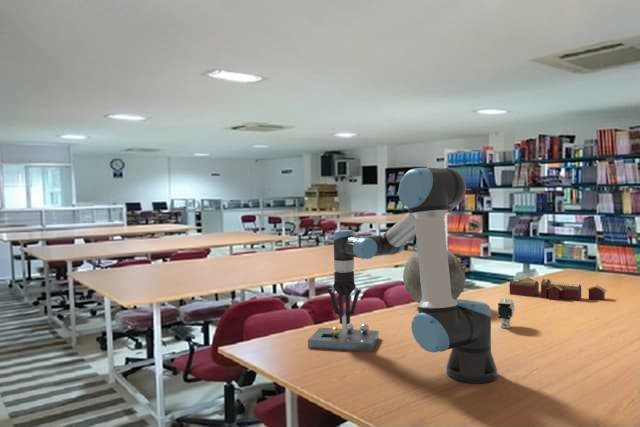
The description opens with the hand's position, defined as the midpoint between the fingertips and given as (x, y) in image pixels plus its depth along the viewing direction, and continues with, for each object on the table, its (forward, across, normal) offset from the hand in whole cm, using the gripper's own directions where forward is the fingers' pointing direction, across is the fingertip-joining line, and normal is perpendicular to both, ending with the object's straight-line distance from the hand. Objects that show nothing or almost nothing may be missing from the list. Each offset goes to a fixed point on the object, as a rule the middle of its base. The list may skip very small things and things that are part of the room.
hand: (345, 332), depth 183 cm
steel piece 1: (0, 0, -7) cm, 7 cm away
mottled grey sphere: (+5, -30, -68) cm, 75 cm away
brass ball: (0, +4, 0) cm, 4 cm away
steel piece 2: (0, -6, -7) cm, 9 cm away
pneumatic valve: (+5, -61, -37) cm, 71 cm away
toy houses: (+5, -92, -105) cm, 140 cm away
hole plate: (+5, +1, -2) cm, 5 cm away
